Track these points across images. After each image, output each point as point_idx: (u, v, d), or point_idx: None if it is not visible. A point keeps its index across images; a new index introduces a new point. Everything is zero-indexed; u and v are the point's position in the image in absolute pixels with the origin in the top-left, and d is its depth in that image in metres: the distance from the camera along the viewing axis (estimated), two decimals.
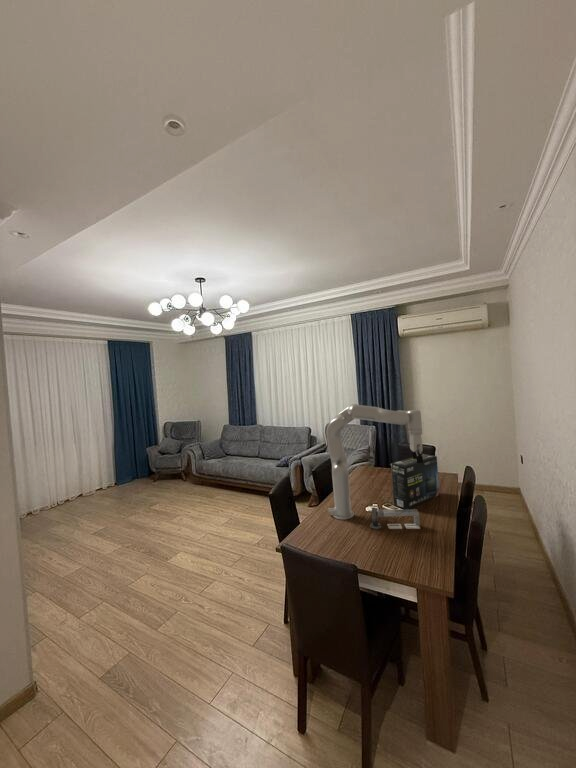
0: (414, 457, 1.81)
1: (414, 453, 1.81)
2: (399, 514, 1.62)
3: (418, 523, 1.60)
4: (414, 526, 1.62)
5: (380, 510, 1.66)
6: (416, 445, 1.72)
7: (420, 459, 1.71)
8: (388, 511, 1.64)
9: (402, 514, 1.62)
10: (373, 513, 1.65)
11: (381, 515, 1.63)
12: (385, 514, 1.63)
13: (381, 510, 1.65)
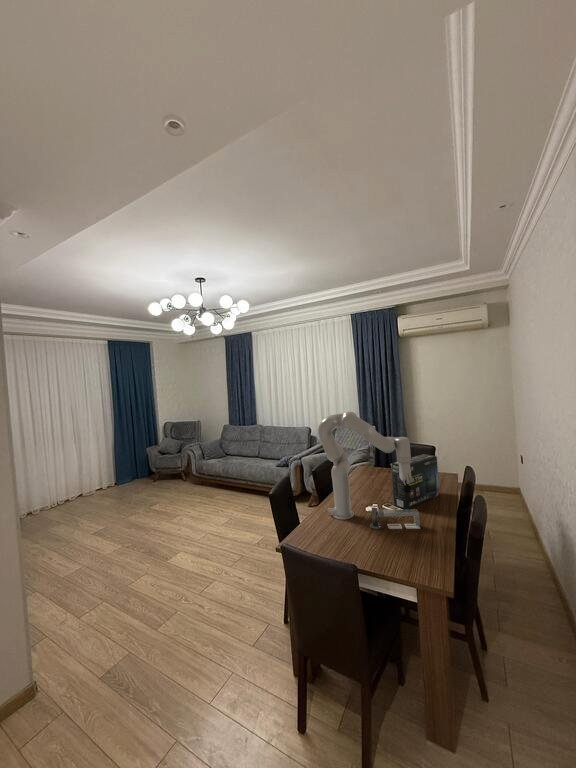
0: None
1: None
2: (399, 514, 1.62)
3: (418, 523, 1.60)
4: (414, 526, 1.62)
5: (380, 510, 1.66)
6: (405, 474, 1.66)
7: (407, 488, 1.69)
8: (388, 511, 1.64)
9: (402, 514, 1.62)
10: (373, 513, 1.65)
11: (381, 515, 1.63)
12: (385, 514, 1.63)
13: (381, 510, 1.65)
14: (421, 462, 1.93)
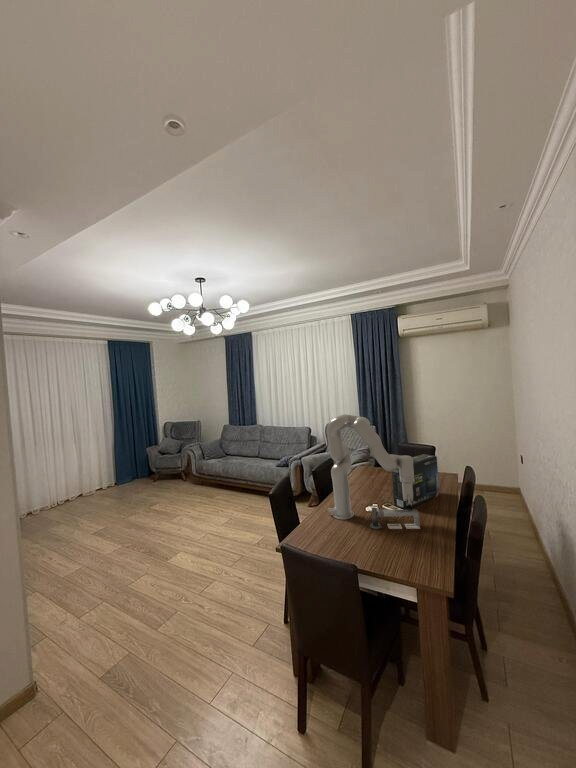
0: None
1: None
2: (399, 514, 1.62)
3: (418, 523, 1.60)
4: (414, 526, 1.62)
5: (380, 510, 1.66)
6: (406, 494, 1.62)
7: None
8: (388, 511, 1.64)
9: (402, 514, 1.62)
10: (373, 513, 1.65)
11: (381, 515, 1.63)
12: (385, 514, 1.63)
13: (381, 510, 1.65)
14: (421, 462, 1.93)
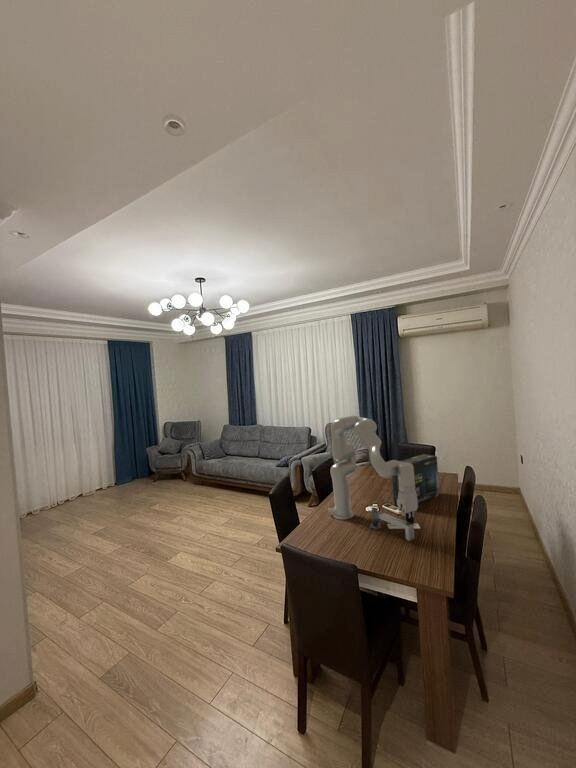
0: None
1: None
2: (391, 521, 1.54)
3: (408, 538, 1.46)
4: (414, 526, 1.62)
5: (379, 512, 1.63)
6: (399, 504, 1.51)
7: (408, 521, 1.51)
8: (384, 515, 1.59)
9: (394, 522, 1.53)
10: (373, 513, 1.65)
11: (376, 516, 1.62)
12: (380, 517, 1.60)
13: (380, 512, 1.63)
14: (421, 462, 1.93)
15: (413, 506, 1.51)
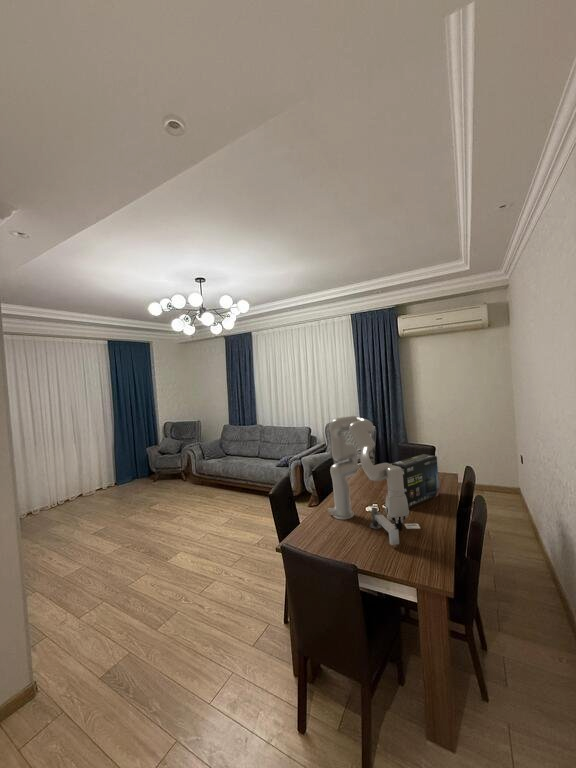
0: None
1: None
2: (381, 523, 1.53)
3: (390, 542, 1.44)
4: (414, 526, 1.62)
5: (377, 513, 1.63)
6: (386, 507, 1.48)
7: (396, 526, 1.47)
8: (379, 516, 1.58)
9: (382, 525, 1.51)
10: None
11: (373, 516, 1.62)
12: (375, 517, 1.60)
13: (377, 513, 1.62)
14: (421, 462, 1.93)
15: (401, 512, 1.45)
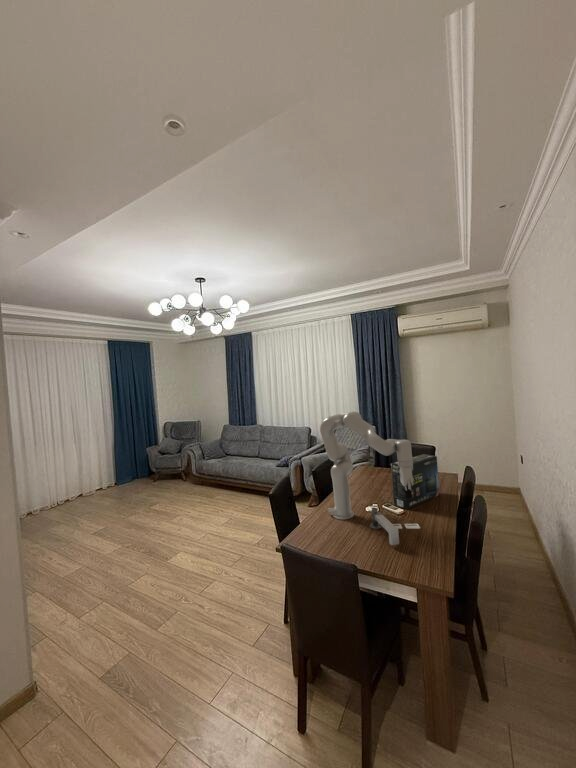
0: None
1: None
2: (381, 523, 1.53)
3: (390, 542, 1.44)
4: (414, 526, 1.62)
5: (377, 513, 1.63)
6: (406, 479, 1.58)
7: (409, 494, 1.61)
8: (379, 516, 1.58)
9: (382, 525, 1.51)
10: None
11: (373, 516, 1.62)
12: (375, 517, 1.60)
13: (377, 513, 1.62)
14: (421, 462, 1.93)
15: None
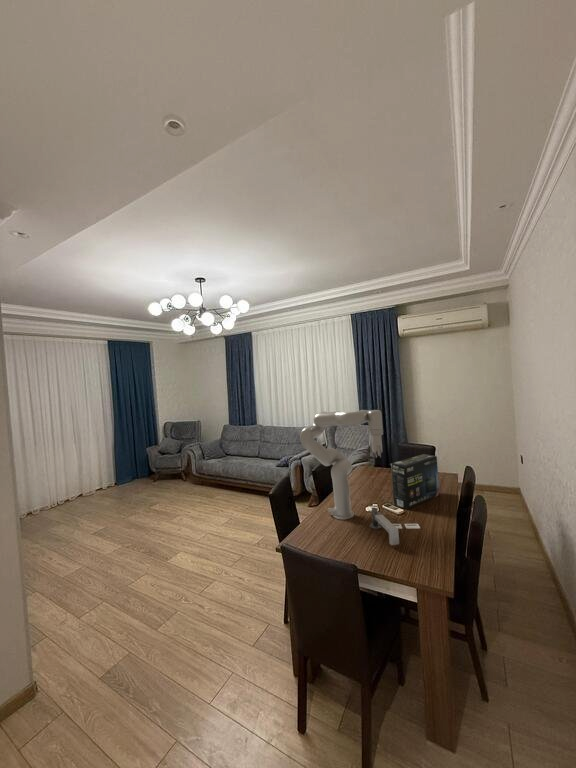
0: None
1: None
2: (381, 523, 1.53)
3: (390, 542, 1.44)
4: (414, 526, 1.62)
5: (377, 513, 1.63)
6: (376, 446, 1.68)
7: (379, 461, 1.71)
8: (379, 516, 1.58)
9: (382, 525, 1.51)
10: None
11: (373, 516, 1.62)
12: (375, 517, 1.60)
13: (377, 513, 1.62)
14: (421, 462, 1.93)
15: None
